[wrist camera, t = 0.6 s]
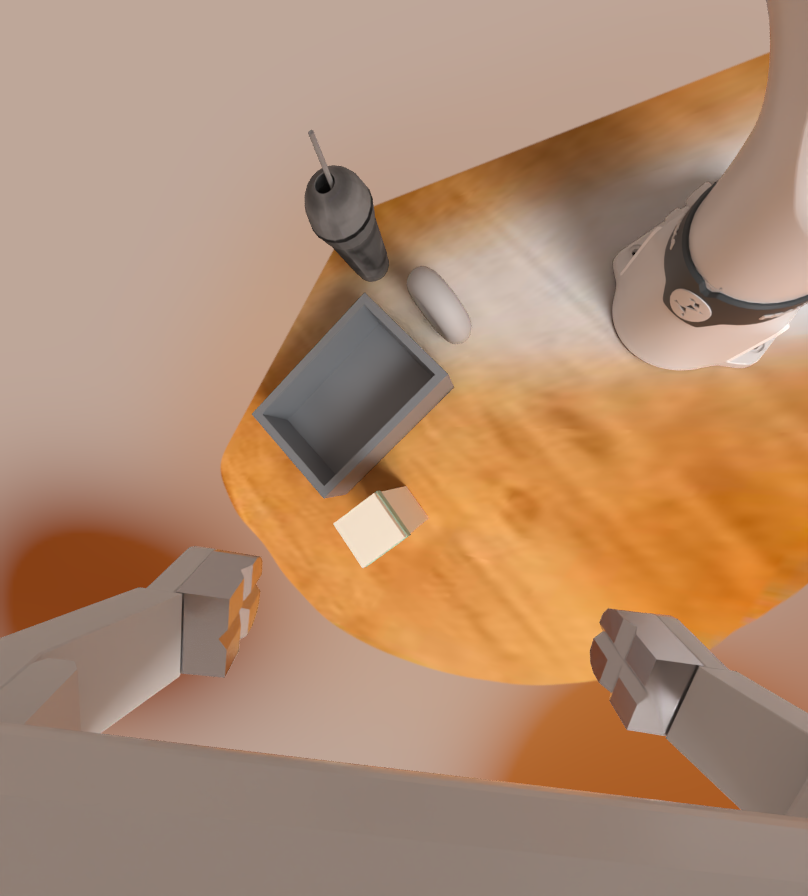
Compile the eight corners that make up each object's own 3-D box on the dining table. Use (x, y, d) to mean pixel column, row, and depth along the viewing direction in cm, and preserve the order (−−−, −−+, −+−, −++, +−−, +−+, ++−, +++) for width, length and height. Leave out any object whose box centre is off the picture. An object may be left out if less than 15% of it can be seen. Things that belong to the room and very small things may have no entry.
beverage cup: (337, 270, 53) (248, 156, 34) (371, 228, 52) (300, 86, 33) (373, 302, 52) (302, 202, 32) (409, 259, 51) (359, 130, 31)
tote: (381, 315, 51) (364, 292, 44) (454, 387, 49) (447, 374, 42) (282, 420, 54) (251, 414, 47) (346, 494, 51) (323, 498, 44)
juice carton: (406, 485, 49) (373, 491, 36) (430, 518, 48) (406, 538, 35) (375, 508, 50) (331, 523, 36) (398, 541, 49) (362, 569, 36)
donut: (410, 303, 50) (391, 264, 41) (431, 285, 50) (416, 242, 40) (457, 359, 49) (449, 333, 39) (479, 342, 48) (476, 310, 38)
